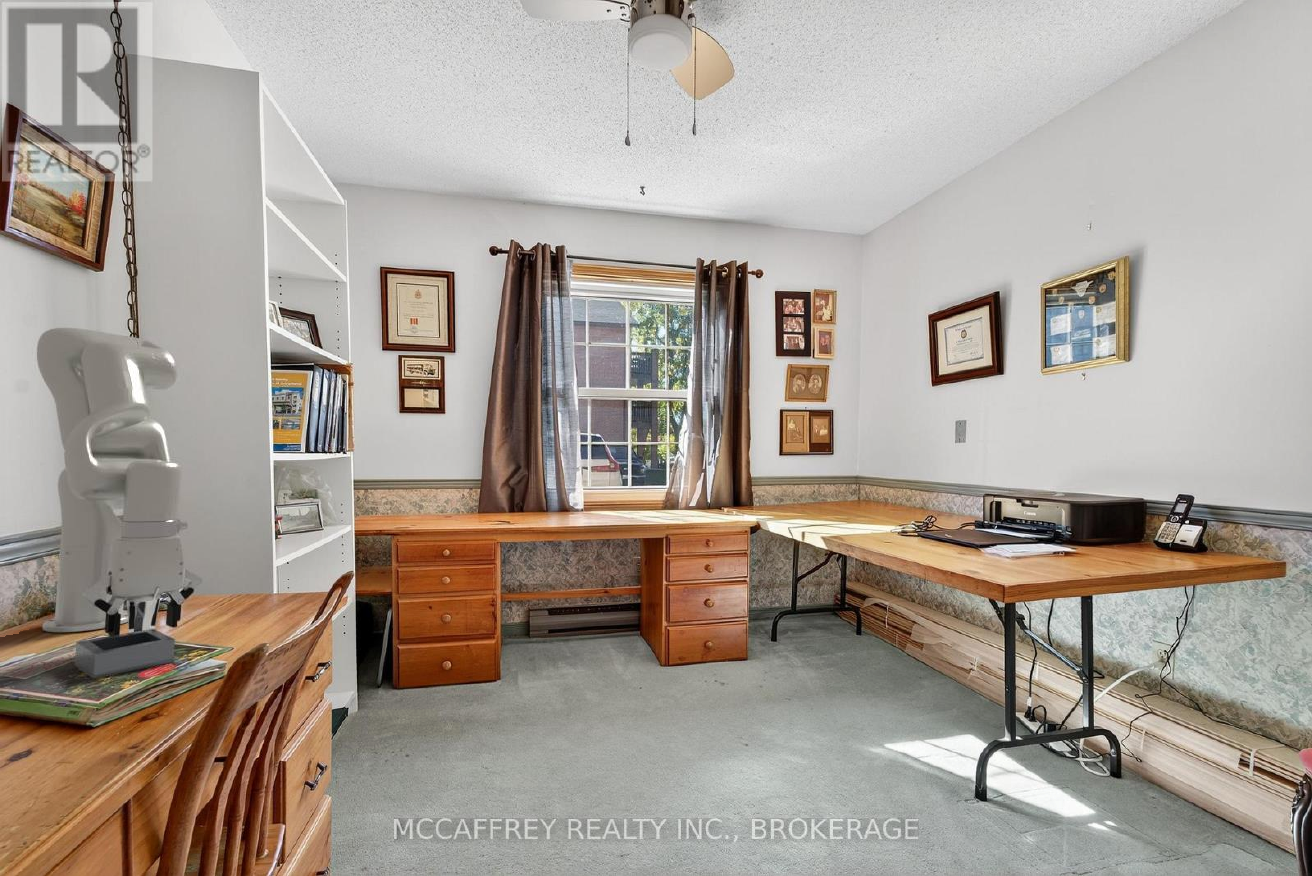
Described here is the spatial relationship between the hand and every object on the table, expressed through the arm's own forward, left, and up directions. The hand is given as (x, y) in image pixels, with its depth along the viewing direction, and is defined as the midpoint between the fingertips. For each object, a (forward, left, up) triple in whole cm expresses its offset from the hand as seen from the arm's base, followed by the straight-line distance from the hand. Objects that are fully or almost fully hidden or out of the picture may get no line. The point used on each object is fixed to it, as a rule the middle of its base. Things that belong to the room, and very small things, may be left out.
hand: (143, 630), depth 103 cm
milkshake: (0, 0, -3) cm, 3 cm away
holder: (+10, -5, -2) cm, 11 cm away
